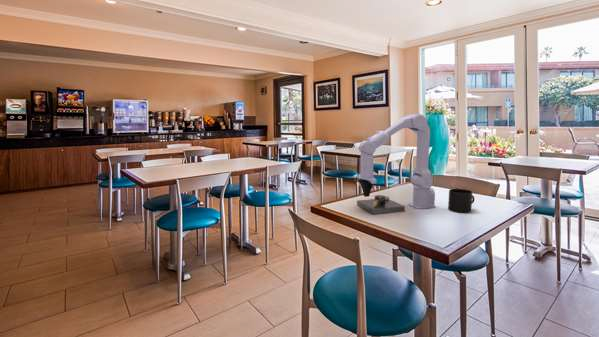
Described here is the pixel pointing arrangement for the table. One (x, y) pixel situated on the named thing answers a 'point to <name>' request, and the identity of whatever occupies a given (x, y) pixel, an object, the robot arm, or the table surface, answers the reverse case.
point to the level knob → (379, 200)
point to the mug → (460, 200)
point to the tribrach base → (380, 206)
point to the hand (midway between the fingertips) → (366, 196)
